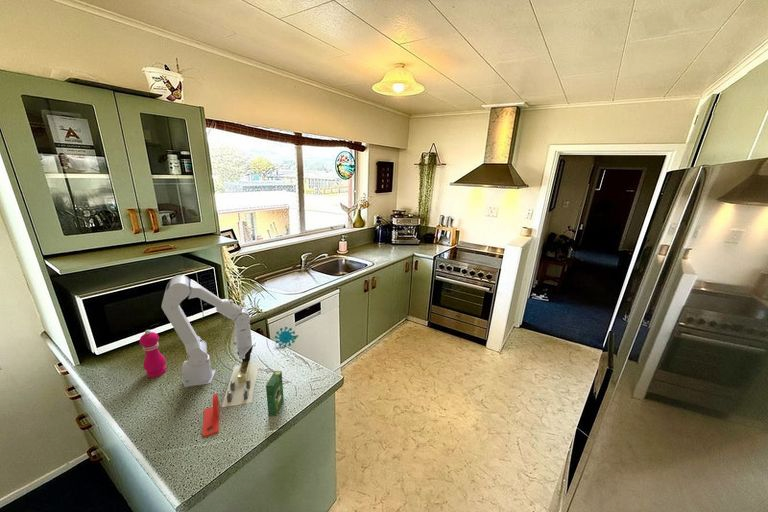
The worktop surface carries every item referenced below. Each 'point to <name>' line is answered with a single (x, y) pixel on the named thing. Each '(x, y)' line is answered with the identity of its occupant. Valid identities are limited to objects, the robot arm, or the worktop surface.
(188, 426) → the worktop surface
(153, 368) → the pepper mill
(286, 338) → the gear
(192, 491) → the worktop surface
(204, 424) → the bracket
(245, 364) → the sanding block
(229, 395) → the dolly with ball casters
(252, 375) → the mat
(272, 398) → the coffee box
